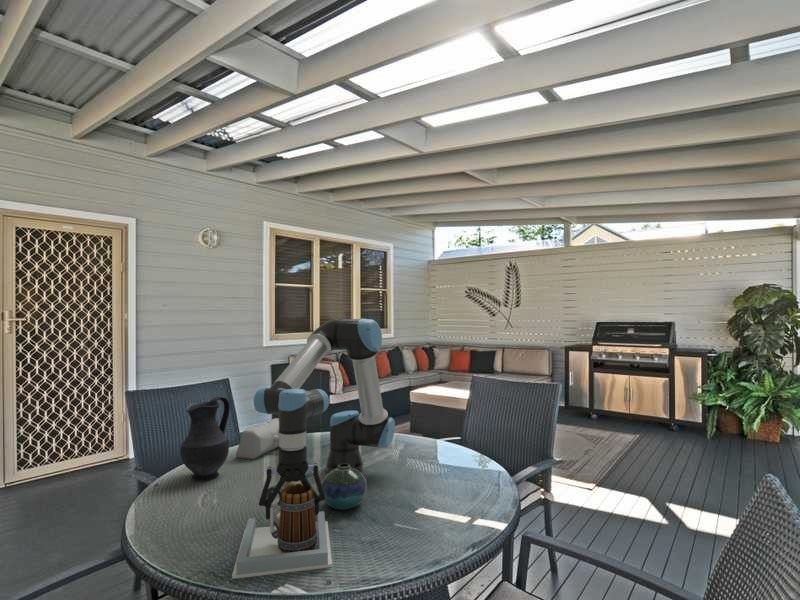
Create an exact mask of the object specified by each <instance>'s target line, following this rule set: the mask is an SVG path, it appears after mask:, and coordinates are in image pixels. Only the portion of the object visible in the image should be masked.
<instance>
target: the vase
mask: <svg viewBox="0 0 800 600" xmlns="http://www.w3.org/2000/svg"><path fill="white" fill-rule="evenodd" d="M321 483H322V487H323V490H324V493H325V500H324V503H325V504H326V505H328V507H330V508H332V509H335V510H341V511H342V510H344V511H345V510H350V509H354V508H356V507H357V506H359V505H360V504H361V503H362V502H363V501H364V499H365V497H366V494H367V491H368V482H367V479H366V477H365V475H364V474H363V473H362V471H361V472H359V471H358V470H356V469H354V468H351V467H350V464H347V463H342V464H339V465H338V468H336V469H334V470H332V471H331V472H329V473H327V474H326V475H325V476H324V477H323V478H322V480H321Z"/></svg>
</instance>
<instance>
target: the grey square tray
mask: <svg viewBox="0 0 800 600" xmlns="http://www.w3.org/2000/svg"><path fill="white" fill-rule="evenodd" d="M256 520H257V519H256V517H249V518H248V519H247V523H246V527H245V529H244V531H243V535H242V538H241V542H240V546H239V549H238V552H237V553H238V554H237V555H236V560H235V564H234V568H233V571H232V575H231V579H232V580H234V579H243V578H249V577H258V576H259V577H262V576H268V575H277V574H278V575H279V574H285V573H286V574H287V573H295V572H300V571H311V570H319V569H320V570H321V569H328V568H333V561H332V552H331V544H330V543H331V542H330V531H329V523H328V520H326V516H325V511H323V510H322V511H319V513H318V514H317V521H316V530H317V543H316V545H315V546H314V547H313V548H312V549H311V550H308V551H299V552H290V553H284V552H283V551H281V550H280V549H279V548H278V538H277V539H275V538H273V536H272V534H271V533H270V526H260V527H257V526H256V525H257V523H256ZM274 529H276V527H275V525H274ZM274 529H273V530H274Z"/></svg>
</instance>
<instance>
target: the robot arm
mask: <svg viewBox="0 0 800 600" xmlns="http://www.w3.org/2000/svg"><path fill="white" fill-rule="evenodd" d="M382 335H383V334H382V330H381V327H380V324H379V323H378V322H377V321H375V320H374V319H371V318H335V319H331V320H329V321H327V322H324V323H323V324H322V325H320V326H319V327H318V328H316V329H314V331H313V332H312V333H311V334H310V335H309V336H308V337H307V339H306V344H305V345H304V346H303V347H302V349H301V350H300V351H299V352H298V353H297V354H296V356H295V357H294V358H293V360H291V362H290V363H289V364H288V366H286V368H285V369H284V370H283V372H282V373H281V374H280V375H279V376H278V378H277V379H276V380H275V381H274V382H273V384H271V386H270V387H263V388H259V389H258V390H257V391H256V392H255V393H254V396H253V407H254V409H255V411H257V412H258V413H260V414H261V413H262V414H267V415H278V419H279V447H278V464H277V466H274V467H272V466H267V468H266V479H265V481H264V485H263V487H262V492H261V496H260V498H259V501H258V506H260V507H266V508H265V519H266V520H269V527H270V533H272V532H273V529H274V526H275V525H274V513H275V504H274V503H273V502H274V501H275V499H276V497H277V495H279V494H278V492H279V491H280V489H281V487H282V486H283V484H284V483H285V481H286V482H292V481H294V482H298V481H299V480H300V481H301V483H302V484H303V485H304V487H305V488H306V490H307V491H309V490H310V488H311V487H312V488H313V486H312V484H311V483H310V482H309V480H308V478H307V477H306V475H305V474H306V473H307V472H308V470H309V472H310V473H311V474H312V475H313V477H314V482H315V484H316V488H317V492H318V494H317V493H316V491H315V489H314V488H313V494H314V499H315V504H314V508H315V516H316V515H317V516H318V513H319V512H320V511H319V510H320V509H319V508H320V503H321V502H322V501H324V500H325V493H324V490H323V487H322V480H321V477H320V474H319V464H318V463H317V462H315V463H313V464H308V461H307V460H308V459H307V458H308V457H307V456H308V455H307V454H308V453H307V451H308V450H307V449H308V448H307V445H308V441H307V440H308V439H307V436H308V434H307V429H308V428H307V427H308V426H307V422H308V420H310V419H312V418H314V417H317V416H320V415H321V414H323V413H324V412H326V411H327V409H328V407H329V406H330V398H329V395H328V394H327V393H326V391H324V390H323V389H320V388H316V389H315V388H314V389H311V390H305V389H304V388H303V389H302V388H301V387H302V386H303V384H304V383H305V382H306V380H307V379H308V378H309V376H311V374H312V372H313V371H314V370H315V369H316V367H317V366H318V364H319V363H320V362H321V361H322V359H323V358H324V357H326V356H328V355H330V353H331V352H333V351H346V355H347V358H348V359H349V360H351V361H352V366H353V372H354V377H355V383H356V389H357V394H358V400H359V401H358V402H359V406H360V411H361V412H360V413H359V411H358V410H344V411H340V412H336V413H334V414H332V415H331V417H330V418H329V419H330V421H329V433H330V434H329V442H330V443H329V445H330V446H329V454H328V457H327V459H326V464H325V472H326V473H327V474H328V473H329V472H331V471H332V470H334V469H336V468H338V465H339V464H342V463H347V464H350V467H351V468H354V469H356V470H358V471H359V472H361V473H362V471H363V470H364V461H363V459H362V456H361V453H360V446H361V447H369V448H370V447H371V448H377V449H380V448H381V449H383V448H384V449H385V448H386V449H387V448H388V447H389V446H390V445H391V443H392V442H393V438H394V435H395V429H396V421H395V419H394V418H393V417H389V415H388V413H389V412H388V410H386V409H385V408H384V406H383V400H382V399H383V398H382V394H381V386H380V380H379V373H378V368H377V361H376V356H377V355H378V353H379V351H380V350H381V348H382V344H383V340H382V339H383V336H382ZM276 473H277V474H278V475H279V476H280V477H279V478H278V479H279V481H278V480H277V482H276V484H275V485H276V486H275V488H274V490H273V491H272V493H271V495H270V497H269V498H268V500H265V498H266V494H267V491H268V488H270V484H271V480H272V477H274V476H275V474H276ZM310 485H311V487H310ZM282 488H283V487H282ZM324 502H325V501H324Z"/></svg>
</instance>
